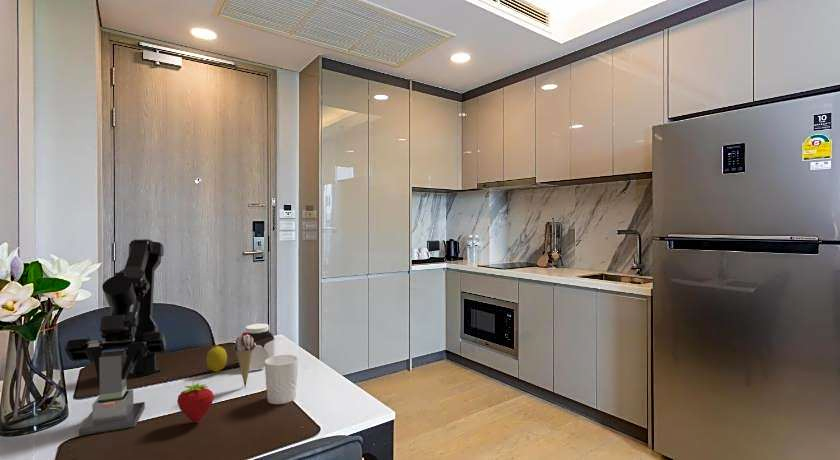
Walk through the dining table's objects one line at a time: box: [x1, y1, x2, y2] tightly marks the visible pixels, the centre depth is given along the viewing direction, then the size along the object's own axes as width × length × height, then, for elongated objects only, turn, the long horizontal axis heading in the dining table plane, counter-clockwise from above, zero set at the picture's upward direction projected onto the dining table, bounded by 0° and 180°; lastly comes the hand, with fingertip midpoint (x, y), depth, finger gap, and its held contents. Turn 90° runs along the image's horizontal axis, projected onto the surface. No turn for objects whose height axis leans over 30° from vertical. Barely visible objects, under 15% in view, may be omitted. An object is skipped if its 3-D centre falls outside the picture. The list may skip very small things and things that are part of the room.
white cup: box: [264, 354, 299, 405], centre depth 108 cm, size 8×8×10 cm
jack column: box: [99, 349, 128, 402], centre depth 96 cm, size 4×4×11 cm
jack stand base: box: [78, 389, 146, 437], centre depth 96 cm, size 10×10×6 cm
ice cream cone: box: [232, 331, 256, 388], centre depth 115 cm, size 6×6×15 cm
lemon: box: [206, 345, 228, 374], centre depth 127 cm, size 6×6×8 cm
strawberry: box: [176, 379, 214, 424], centre depth 95 cm, size 6×8×10 cm
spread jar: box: [244, 323, 276, 371], centre depth 133 cm, size 12×11×12 cm
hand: (111, 380), depth 95 cm, fingers closed on jack column, 4 cm apart
